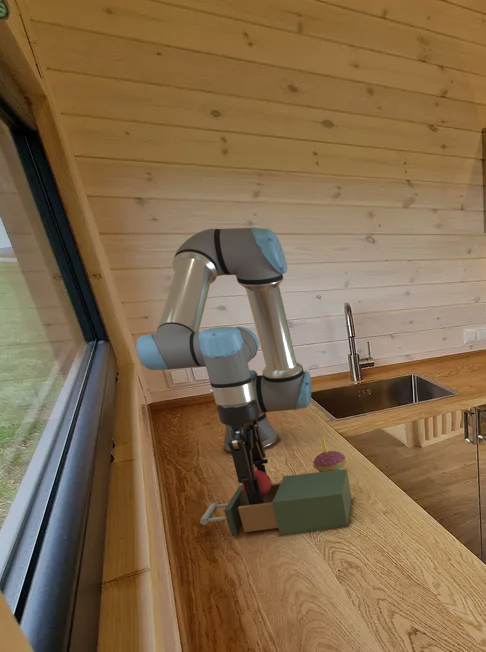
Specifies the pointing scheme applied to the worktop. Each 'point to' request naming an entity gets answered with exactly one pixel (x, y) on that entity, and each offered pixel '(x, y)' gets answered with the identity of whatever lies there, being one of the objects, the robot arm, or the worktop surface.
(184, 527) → the worktop surface
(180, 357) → the robot arm
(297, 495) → the cabinet
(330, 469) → the cupcake
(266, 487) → the onion
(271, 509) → the drawer
